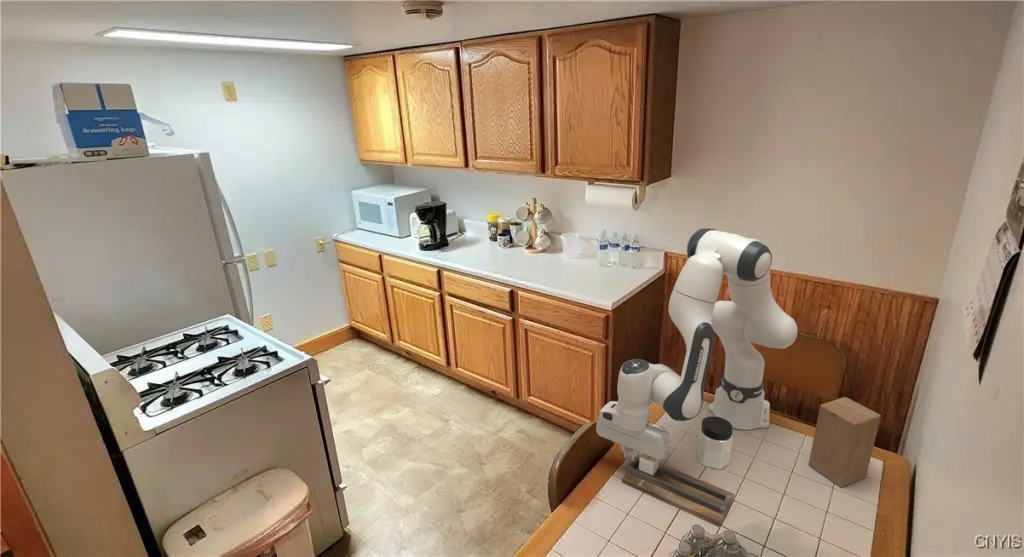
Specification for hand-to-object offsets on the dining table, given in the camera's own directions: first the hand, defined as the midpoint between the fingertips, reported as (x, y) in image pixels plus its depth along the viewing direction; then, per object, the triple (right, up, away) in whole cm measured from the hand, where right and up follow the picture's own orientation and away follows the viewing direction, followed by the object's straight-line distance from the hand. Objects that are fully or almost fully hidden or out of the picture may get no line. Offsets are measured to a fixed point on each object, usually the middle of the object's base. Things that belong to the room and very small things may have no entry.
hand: (630, 458), depth 140 cm
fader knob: (+4, -3, -3) cm, 6 cm away
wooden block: (+57, -3, -2) cm, 57 cm away
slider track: (+11, -6, -7) cm, 14 cm away
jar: (+25, -2, +4) cm, 25 cm away
